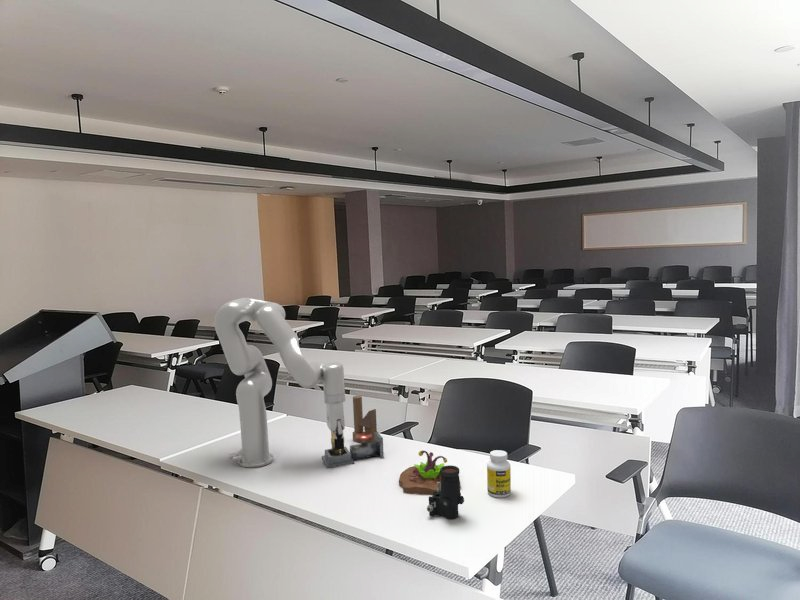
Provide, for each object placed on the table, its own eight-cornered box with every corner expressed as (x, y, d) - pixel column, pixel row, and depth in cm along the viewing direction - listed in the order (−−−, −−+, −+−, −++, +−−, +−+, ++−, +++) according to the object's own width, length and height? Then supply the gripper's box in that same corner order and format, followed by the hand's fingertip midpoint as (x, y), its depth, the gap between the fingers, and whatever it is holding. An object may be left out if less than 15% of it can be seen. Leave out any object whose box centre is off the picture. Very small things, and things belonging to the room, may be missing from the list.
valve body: (326, 468, 202) (325, 445, 201) (321, 458, 212) (320, 436, 211) (384, 459, 208) (383, 437, 208) (377, 450, 218) (376, 429, 217)
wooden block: (371, 446, 222) (368, 401, 220) (352, 440, 229) (350, 396, 227) (377, 444, 224) (375, 399, 223) (359, 438, 232) (357, 394, 230)
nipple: (333, 454, 205) (331, 432, 204) (330, 450, 210) (329, 428, 209) (346, 452, 206) (344, 430, 206) (343, 447, 211) (342, 426, 210)
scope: (436, 460, 169) (468, 465, 164) (437, 505, 170) (469, 512, 166) (424, 471, 162) (457, 476, 157) (426, 518, 163) (458, 524, 159)
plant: (400, 471, 197) (398, 440, 196) (457, 470, 197) (456, 438, 196) (398, 497, 178) (397, 462, 176) (461, 496, 177) (460, 461, 176)
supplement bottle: (495, 500, 172) (494, 458, 171) (483, 491, 179) (482, 451, 178) (515, 495, 175) (514, 454, 174) (502, 486, 182) (501, 447, 180)
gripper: (320, 393, 213) (323, 440, 215) (328, 404, 197) (332, 456, 199) (340, 390, 215) (343, 437, 217) (350, 402, 199) (353, 452, 201)
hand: (337, 446), depth 208 cm, fingers closed on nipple, 4 cm apart
